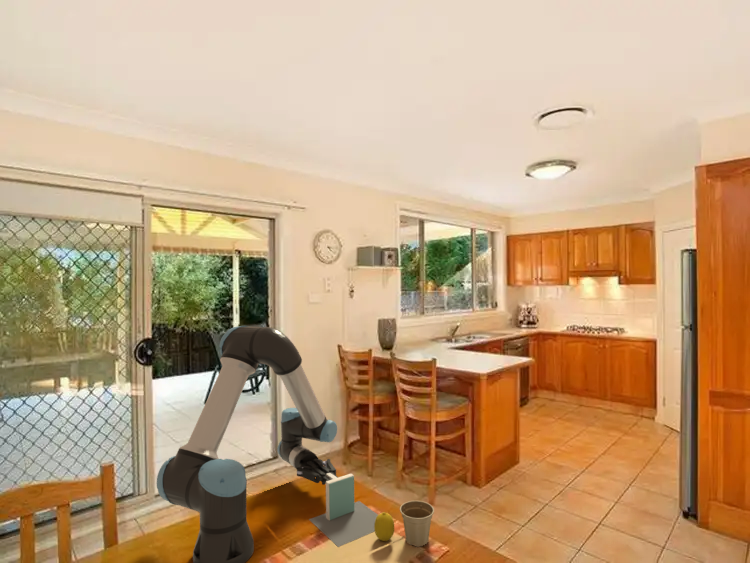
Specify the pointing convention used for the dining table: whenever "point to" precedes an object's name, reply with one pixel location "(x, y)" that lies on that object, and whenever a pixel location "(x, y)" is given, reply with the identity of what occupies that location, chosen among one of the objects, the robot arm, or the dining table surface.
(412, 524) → the flower pot
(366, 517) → the mat
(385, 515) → the lemon
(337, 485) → the tile
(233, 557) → the robot arm
